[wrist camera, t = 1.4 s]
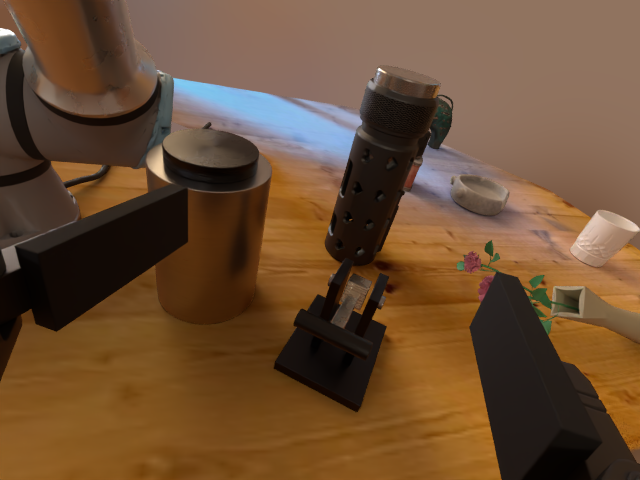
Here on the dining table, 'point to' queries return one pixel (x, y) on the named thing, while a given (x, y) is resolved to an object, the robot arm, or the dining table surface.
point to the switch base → (328, 360)
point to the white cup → (603, 238)
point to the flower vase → (565, 301)
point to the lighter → (413, 173)
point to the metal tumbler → (212, 222)
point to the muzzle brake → (381, 160)
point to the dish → (479, 194)
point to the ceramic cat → (440, 123)
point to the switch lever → (340, 320)
